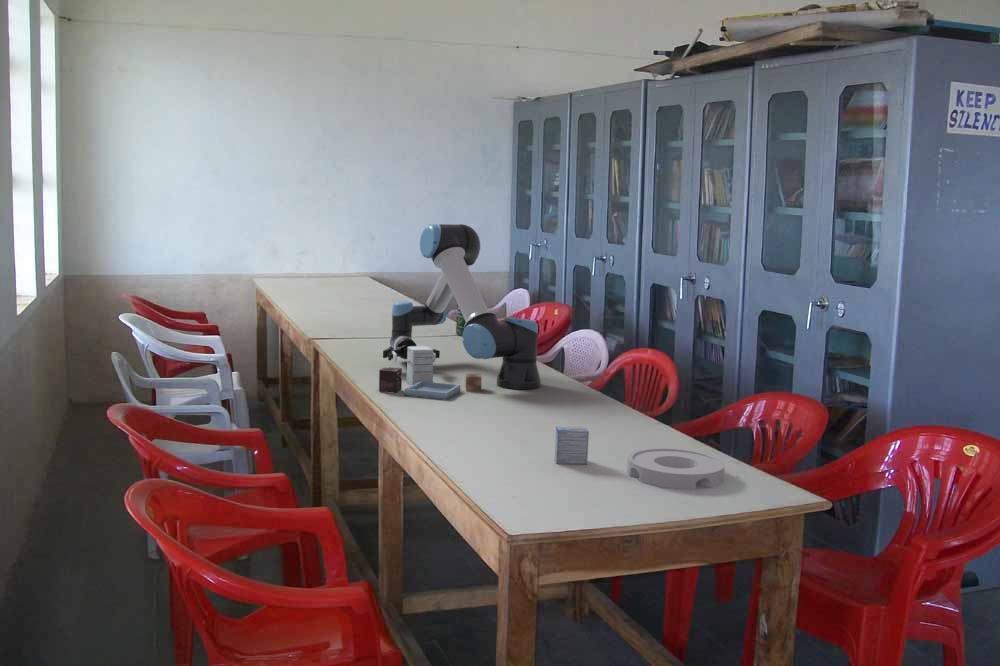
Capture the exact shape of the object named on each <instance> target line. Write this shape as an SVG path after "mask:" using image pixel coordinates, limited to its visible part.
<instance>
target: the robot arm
mask: <svg viewBox="0 0 1000 666" xmlns="http://www.w3.org/2000/svg"><path fill="white" fill-rule="evenodd" d="M419 249H420V253H421V256H423V257H424V258H426V259H431V260H432V262H433V264H434V266H435V267H436V268H437V269H441V271H442V272H441V274H440V276H439V278H438V280H437V282H436V284H435V286H434V287H433V289H432V291H431V293H430V295H429V297H428V298H427V300H426V302H425V304H424V305H414V303H413V302H411V301H407V300H404V301H403V300H402V301H401V300H400V301H399V300H398V301H395V302H393V304H392V308H391V309H392V312H391V317H392V318H391V319H392V320H391V323H392V329H391V336H390V339H389V345H390V346H389V347H388V348H386V349H384V350H383V351H382V358H383V359H387V360H388V361H393V362H394V363H397V361H398V357H399V358H401V359H403V360H407V351H408V347H410V346H417V343H416V342H415V341H414V340H413V339H412V337H413V335H412V333H413V327H420V326H421V327H423V326H437V325H443V324H444V323H445V322H446V321H447V316H448V314H447V313H448V311H447V309H446V308H447V306H448V305H449V303H450V301H451V299H452V298H454V300H455V302H456V305H457V304H458V306H459V308H460V311H461V313H462V315H463V317H464V319H465V321H466V323H465V325H464V331H463V334H462V336H461V337H462V339H463V340H462V346H463V347H464V350H465V352H466V353H467V354H468V355H469V356H470V357H472V358H474V359H475V360H477V359H478V360H480V359H482V360H489V359H494V358H502V363H501V365H500V369H499V371H498V374H497V376H496V385H497V386H498V387H501V388H505V389H513V390H533V389H537V388H540V387H541V386H542V385H541V383H542V382H541V381H542V380H541V379H542V378H541V376H540V372H539V369H538V365H537V357H538V355H537V354H538V340H539V339H538V337H539V331H538V329H539V327H538V326H539V325H538V323H537V322H536V321H535V320H531V319H526V318H518V317H512V316H511V317H510V316H506V317H504V319H503V321H502V322H501V321H499V319H498V318H497V315H496V313H495V312H492V311H489V309H488V307H487V305H486V303H485V301H484V299H483V297H482V294H481V292H480V290H479V288H478V285H477V284H476V281H475V279H474V277H473V275H472V274H471V271H470V269H469V268H470V267H471V266H473V265H475V263H476V261H477V259H478V258H479V255H480V251H481V240H480V237H479V235H478V233H477V232H476V230H475V229H474V228H473V227H471V226H470V225H466V224H461V223H460V224H453V223H452V224H446V223H445V224H441V223H440V224H439V223H435V224H428V225H427V226H426V227H424V228H423V230H422V232H421V234H420V239H419ZM432 349H433V350H434V357H433V363H436V359H439V358H440V353H441V352H440V350H438V349H436V348H432Z"/></svg>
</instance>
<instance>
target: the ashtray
mask: <svg viewBox="0 0 1000 666" xmlns="http://www.w3.org/2000/svg"><path fill="white" fill-rule="evenodd" d="M626 467H627V468H626V472H627V474H628V476H629V477H631V478H638V482H640V483H642V484H646V485H649V486H653V487H659V488H663V489H673V490H681V491H683V490H684V491H686V490H687V491H688V490H689V491H694V490H697V488H698V487H701V488H706V489H712V488H715V487H719V486H720V485H722V484H723V483H724V479H725V478H724V477H725V462H724V461H723V460H722V459H720V458H718V457H716V456H714V455H712V454H709V453H706V452H701V451H697V450H691V449H686V448H676V447H649V448H641V449H638V450H634V451H632V452H630V453H629V454H628V455H627V466H626Z"/></svg>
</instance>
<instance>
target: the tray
mask: <svg viewBox="0 0 1000 666" xmlns="http://www.w3.org/2000/svg"><path fill="white" fill-rule="evenodd" d="M458 392H459V393H460V392H461V385H460V384H453V383H442V382H434V381H433V382H423V381H420V382H418V383H416V384H414V385H412V386H411V385H410V386H408V387H406V388H405V389H404V396H405V395H408V396H407V397H411V396H417V397H416V398H421V397H427V398H426V399H431V398H437V399H436V400H441V399H446V400H445V401H447V400H449V399H450V397H451V396H452V397H454V396H455V395H457V394H458ZM456 393H457V394H456ZM453 395H454V396H453ZM452 397H451V398H452ZM448 398H449V399H448Z"/></svg>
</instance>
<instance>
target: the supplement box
mask: <svg viewBox="0 0 1000 666" xmlns="http://www.w3.org/2000/svg"><path fill="white" fill-rule="evenodd" d="M433 349H434V348H431V347H429V346H428V345H418V346H410V347H408V351H407V359H406V383H407V384H409V385H410V386H411V385H414V384H416V383H418V382H420V381H423V382H433V383H434V380H433V379H434V362H433V357H434V350H433Z"/></svg>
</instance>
